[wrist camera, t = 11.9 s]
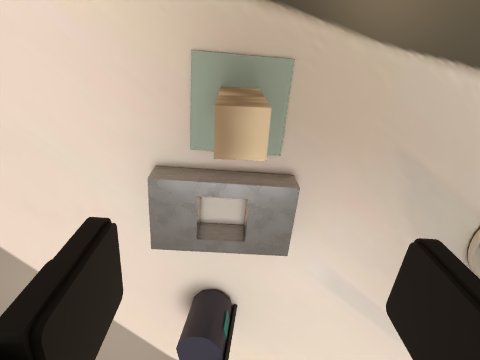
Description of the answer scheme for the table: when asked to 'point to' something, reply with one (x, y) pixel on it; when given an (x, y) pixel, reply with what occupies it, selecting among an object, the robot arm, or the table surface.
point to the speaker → (208, 328)
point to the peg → (241, 124)
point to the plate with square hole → (223, 186)
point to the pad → (242, 76)
